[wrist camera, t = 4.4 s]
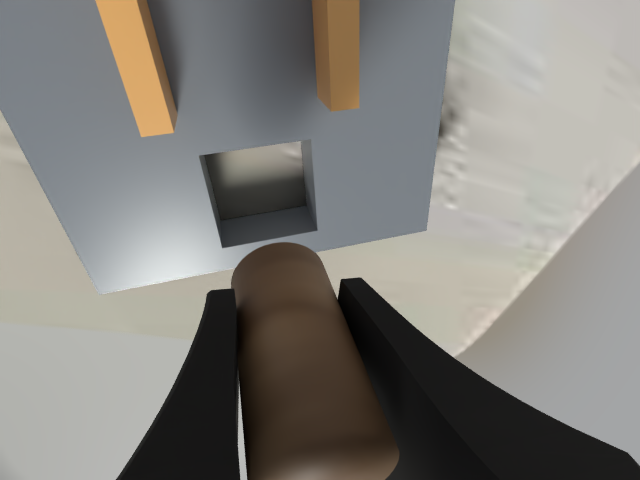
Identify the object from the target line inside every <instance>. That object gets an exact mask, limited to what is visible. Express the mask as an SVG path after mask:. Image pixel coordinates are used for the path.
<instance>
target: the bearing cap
mask: <svg viewBox="0 0 640 480" xmlns="http://www.w3.org/2000/svg"><path fill="white" fill-rule="evenodd" d="M95 1H96V4H97V7H98V10H99V13H100V16H101V19H102V22H103V25H104V28H105V31H106V34H107V37H108V40H109V43H110V46H111V49H112V52H113V55H114V57H115V60H116V63H117V66H118V69H119V72H120V75H121V78H122V81H123V84H124V87H125V90H126V93H127V96H128V99H129V102H130V105H131V108H132V111H133V114H134V117H135V120H136V123H137V126H138V129H139V132H140V135H141V137H147V136H154V135H162V134H169V133H174V131H175V126H176V121H177V116H178V114H177V111H176V107H175V103H174V99H173V96H172V92H171V88H170V85H169V81H168V77H167V74H166V70H165V66H164V62H163V59H162V55H161V51H160V48H159V44H158V40H157V37H156V33H155V29H154V25H153V22H152V18H151V14H150V11H149V7H148V3H147V0H95ZM312 12H313V29H314V46H315V63H316V80H317V97H318V98H319V99H320V100H321V101H322V102H323V103H324V105H325V106H326V107H327V108H328V109H329V110H330V111H331V112H333V111H341V110H348V109H356V108H359V0H312Z"/></svg>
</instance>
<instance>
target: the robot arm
mask: <svg viewBox="0 0 640 480" xmlns="http://www.w3.org/2000/svg"><path fill="white" fill-rule="evenodd" d="M338 302H339V305H340V307H341V310H342V312H343V314H344V317H345V319H346V322H347V324H348V327H349V329H350V332H351V334H352V336H353V339H354V341H355V344H356V346H357V349H358V351H359V354H360V356H361V358H362V361H363V363H364V366H365V368H366V371H367V373H368V376H369V378H370V380H371V383H372V385H373V388H374V390H375V393H376V395H377V398H378V400H379V403H380V405H381V407H382V410H383V412H384V415H385V417H386V420H387V422H388V425H389V427H390V429H391V432H392V434H393V437H394V439H395V442H396V444H397V447H398V449H399V460H398V463H397V465H396V467H395V468H394V470H393V471H392V473H391V474H390V475H389V476H388V477H387V478H386V479H385V480H640V466H639V465H638V464H637V462H636V461H635V460H634V459H633V458H632V457H631V456H630V455H629V454H628V453H627V452H625V451H623V450H620V449H618V448H616V447H614V446H611V445H609V444H607V443H605V442H603V441H600V440H598V439H596V438H594V437H591V436H589V435H587V434H585V433H583V432H581V431H578V430H576V429H574V428H572V427H570V426H568V425H566V424H564V423H562V422H560V421H558V420H556V419H554V418H552V417H550V416H548V415H546V414H545V413H542V412H541V411H539V410H537V409H535V408H533V407H531V406H530V405H528V404H526V403H524V402H522V401H521V400H519V399H517V398H515V397H514V396H512V395H510V394H509V393H506V392H505V391H504V390H502V389H500V388H499V387H497V386H495V385H494V384H492V383H490V382H489V381H487V380H486V379H484V378H482V377H481V376H479V375H478V374H476V373H475V372H473V371H472V370H471V369H469V368H468V367H466V366H465V365H463V364H462V363H460V362H459V361H457V360H456V359H455V358H453V357H452V356H451V355H449V354H448V353H447V352H445V351H444V350H443V349H441V348H440V347H439V346H438V345H436V344H435V343H434V342H433V341H431V340H430V339H429V338H427V337H426V336H425V335H424V334H423V333H421V332H420V331H419V330H418V329H417V328H415V327H414V326H413V325H412V324H411V323H410V322H408V321H407V320H406V319H405V318H404V317H403V316H402V315H401V314H399V313H398V312H397V311H396V310H395V309H394V308H393V307H392V306H391V305H390V304H389V303H387V302H386V301H385V300H384V299H383V298H382V297H381V296H380V295H379V294H378V293H377V292H376V291H375V290H374V289H373V288H372V287H370V286H369V285H368V284H367V283H366V282H365V281H364V280H363V279H362V278H349V279H341V282H340V288H339V295H338ZM237 352H238V335H237V307H236V298H235V290H234V288H233V289H221V290H211V291H210V292H209V293H207V297H206V303H205V307H204V311H203V315H202V318H201V321H200V324H199V327H198V330H197V333H196V335H195V338H194V340H193V343H192V345H191V348H190V350H189V353H188V355H187V357H186V360H185V362H184V364H183V366H182V368H181V370H180V373H179V374H178V377H177V379H176V381H175V383H174V385H173V387H172V389H171V391H170V393H169V395H168V396H167V398H166V400H165V402H164V404H163V406H162V407H161V409H160V411H159V413H158V414H157V416H156V418H155V420H154V421H153V423H152V425H151V426H150V428H149V430H148V431H147V433H146V434H145V436H144V438H143V439H142V441H141V443H140V444H139V446H138V447H137V449H136V450H135V452H134V454H133V455H132V457H131V458H130V460H129V461H128V463H127V464H126V466H125V468H124V469H123V470H122V472H121V473H120V475H119V476H118V478H117V479H116V480H240V469H239V457H238V399H239V397H238V396H239V373H238V359H237Z"/></svg>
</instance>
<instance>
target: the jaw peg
mask: <svg viewBox="0 0 640 480" xmlns="http://www.w3.org/2000/svg"><path fill="white" fill-rule="evenodd" d="M233 288H234V290H235V298H236V307H237V335H238V352H237V359H238V373H239V385H240V397H241V409H242V421H243V433H244V445H245V457H246V469H247V480H385V479H386V478H387V477H388V476H389V475H390V474H391V473H392V471H393V470H394V468H395V467H396V465H397V463H398V460H399V449H398V447H397V444H396V442H395V439H394V437H393V434H392V432H391V429H390V427H389V425H388V422H387V420H386V417H385V415H384V412H383V410H382V407H381V405H380V403H379V400H378V398H377V395H376V393H375V390H374V388H373V385H372V383H371V380H370V378H369V376H368V373H367V371H366V368H365V366H364V363H363V361H362V358H361V356H360V354H359V351H358V349H357V346H356V344H355V341H354V339H353V336H352V334H351V332H350V329H349V327H348V324H347V322H346V319H345V317H344V314H343V312H342V310H341V307H340V305H339V302H338V300H337V297H336V295H335V292H334V290H333V287H332V285H331V283H330V280H329V278H328V275H327V273H326V270H325V268H324V265H323V263H322V261H321V259H320V258H319V256H318V255H317V254H316V253H315V252H314V251H312V250H311V249H309V248H308V247H305V246H303V245H300V244H297V243H291V242H278V243H272V244H268V245H264V246H262V247H259V248H257V249H255V250H254V251H252V252H250V253H249V254H248V255H246V256H245V257H244V258H243V259H242V260H241V261H240V262H239V264H238V265H237V267H236V268H235V270H234V272H233V276H232V280H231V289H233Z"/></svg>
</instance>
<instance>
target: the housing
mask: <svg viewBox="0 0 640 480" xmlns="http://www.w3.org/2000/svg"><path fill="white" fill-rule="evenodd" d="M147 3H148V7H149V11H150V14H151V18H152V22H153V25H154V29H155V33H156V37H157V40H158V44H159V48H160V51H161V55H162V59H163V62H164V66H165V70H166V74H167V77H168V81H169V85H170V88H171V92H172V96H173V99H174V103H175V107H176V111H177V114H178V116H177V121H176V126H175V131H174V133H169V134H162V135H154V136H147V137H141V135H140V132H139V129H138V126H137V123H136V120H135V117H134V114H133V111H132V108H131V105H130V102H129V99H128V96H127V93H126V90H125V87H124V84H123V81H122V78H121V75H120V72H119V69H118V66H117V63H116V60H115V57H114V55H113V52H112V49H111V46H110V43H109V40H108V37H107V34H106V31H105V28H104V25H103V22H102V19H101V16H100V13H99V10H98V7H97V4H96V1H95V0H0V110H1V112H2V114H3V115H4V117H5V119H6V121H7V123H8V125H9V127H10V129H11V130H12V132H13V134H14V136H15V138H16V140H17V142H18V144H19V145H20V147H21V149H22V151H23V153H24V155H25V157H26V159H27V161H28V162H29V164H30V166H31V168H32V170H33V172H34V174H35V176H36V177H37V179H38V181H39V183H40V185H41V187H42V189H43V191H44V192H45V194H46V196H47V198H48V200H49V202H50V204H51V206H52V208H53V209H54V211H55V213H56V215H57V217H58V219H59V221H60V223H61V224H62V226H63V228H64V230H65V232H66V234H67V236H68V238H69V239H70V241H71V243H72V245H73V247H74V249H75V251H76V253H77V255H78V256H79V258H80V260H81V262H82V264H83V266H84V268H85V270H86V271H87V273H88V275H89V277H90V279H91V281H92V283H93V285H94V286H95V288H96V290H97V292H98V294H99V295H100V294H105V293H110V292H116V291H121V290H126V289H131V288H136V287H141V286H146V285H151V284H156V283H161V282H167V281H172V280H177V279H182V278H187V277H192V276H197V275H202V274H207V273H213V272H218V271H223V270H228V269H233V268H236V267H237V265H238V264H239V262H240V261H241V260H242V259H243V258H244V257H245V256H246V255H248V254H249V253H250V252H252V251H254V250H255V249H257V248H259V247H262V246H264V245H268V244H272V243H278V242H291V243H297V244H300V245H303V246H305V247H308V248H309V249H311V250H312V251H314V252H320V251H325V250H330V249H335V248H340V247H345V246H350V245H355V244H361V243H366V242H371V241H376V240H381V239H386V238H391V237H396V236H401V235H406V234H412V233H417V232H422V231H426V230H427V222H428V213H429V205H430V197H431V189H432V181H433V173H434V165H435V157H436V149H437V141H438V133H439V125H440V117H441V109H442V101H443V93H444V85H445V77H446V69H447V61H448V53H449V45H450V37H451V29H452V21H453V12H454V4H455V0H359V108H356V109H348V110H341V111H333V112H331V111H330V110H329V109H328V108H327V107H326V106H325V105H324V103H323V102H322V101H321V100H320V99H319V98H318V97H317V80H316V63H315V46H314V29H313V12H312V0H147ZM296 141H301V149H302V160H303V172H304V183H305V194H306V205H307V206H302V207H296V208H290V209H284V210H279V211H273V212H267V213H262V214H256V215H250V216H244V217H239V218H233V219H227V220H221V221H220V217H219V213H218V209H217V205H216V201H215V196H214V192H213V188H212V184H211V180H210V176H209V172H208V168H207V164H206V160H205V156H204V155H206V154H213V153H220V152H227V151H234V150H240V149H247V148H254V147H261V146H268V145H275V144H282V143H289V142H296Z"/></svg>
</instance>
